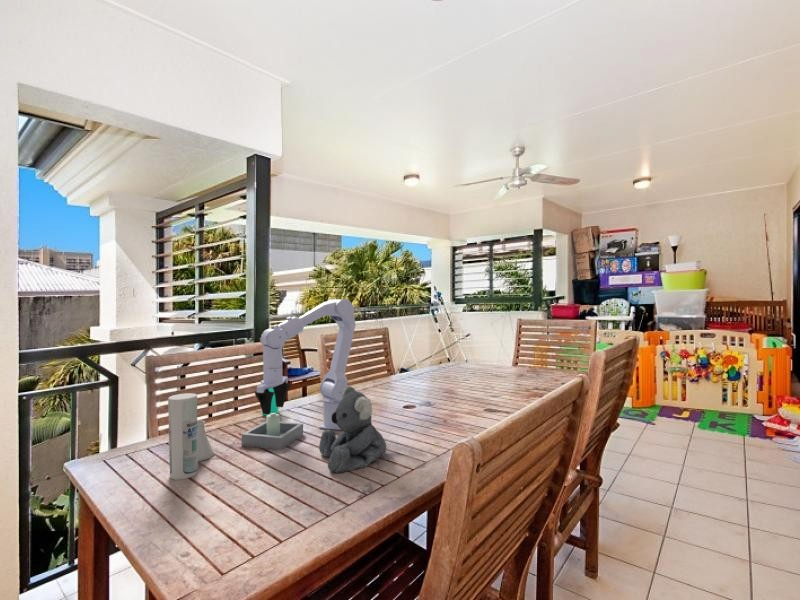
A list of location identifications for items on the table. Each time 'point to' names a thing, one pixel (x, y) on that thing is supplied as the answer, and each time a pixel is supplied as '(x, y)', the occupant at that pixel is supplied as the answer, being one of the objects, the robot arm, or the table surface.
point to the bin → (262, 440)
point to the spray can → (183, 435)
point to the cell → (273, 424)
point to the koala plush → (352, 434)
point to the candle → (273, 404)
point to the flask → (203, 443)
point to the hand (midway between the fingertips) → (273, 410)
